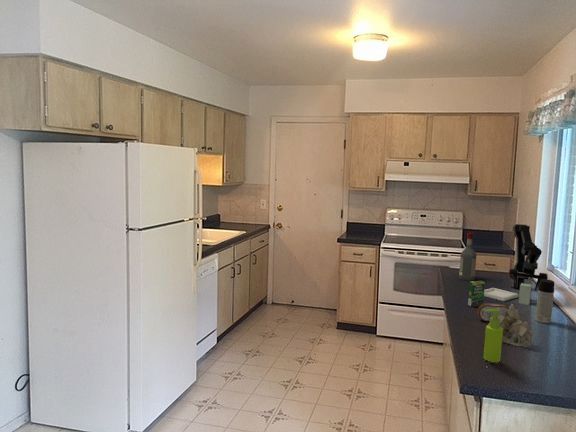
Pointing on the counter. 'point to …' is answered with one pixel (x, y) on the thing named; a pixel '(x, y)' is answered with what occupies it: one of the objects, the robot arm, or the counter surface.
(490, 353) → the soap dispenser
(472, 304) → the coffee box
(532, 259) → the robot arm
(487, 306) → the tin
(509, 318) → the grey brown jagged piece
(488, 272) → the counter surface
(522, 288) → the block
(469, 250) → the liquor
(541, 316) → the spray can
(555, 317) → the counter surface
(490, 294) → the tray
